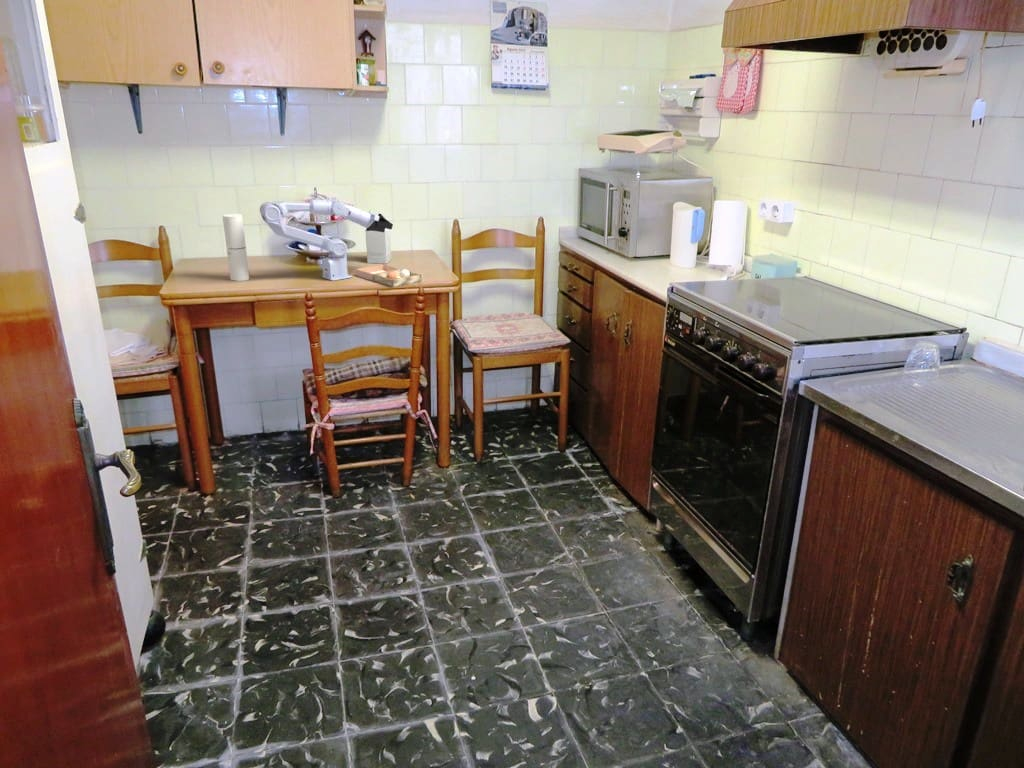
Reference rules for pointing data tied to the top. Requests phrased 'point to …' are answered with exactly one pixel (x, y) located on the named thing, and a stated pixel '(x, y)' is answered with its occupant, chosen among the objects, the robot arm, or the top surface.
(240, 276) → the cylindrical container
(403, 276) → the cream ball
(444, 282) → the top surface
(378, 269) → the peach open box
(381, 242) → the supplement box
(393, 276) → the terracotta ball
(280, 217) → the robot arm
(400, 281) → the box
